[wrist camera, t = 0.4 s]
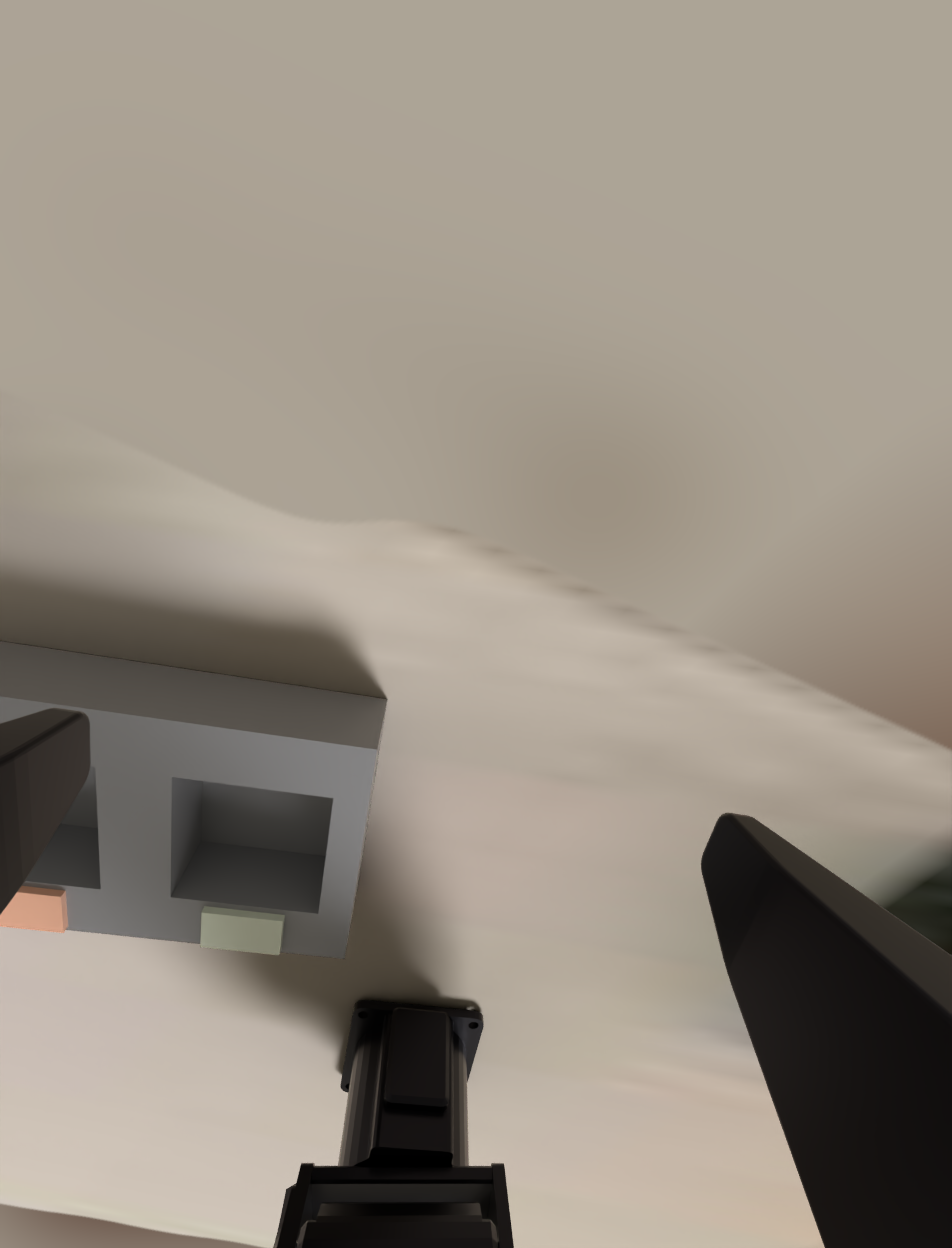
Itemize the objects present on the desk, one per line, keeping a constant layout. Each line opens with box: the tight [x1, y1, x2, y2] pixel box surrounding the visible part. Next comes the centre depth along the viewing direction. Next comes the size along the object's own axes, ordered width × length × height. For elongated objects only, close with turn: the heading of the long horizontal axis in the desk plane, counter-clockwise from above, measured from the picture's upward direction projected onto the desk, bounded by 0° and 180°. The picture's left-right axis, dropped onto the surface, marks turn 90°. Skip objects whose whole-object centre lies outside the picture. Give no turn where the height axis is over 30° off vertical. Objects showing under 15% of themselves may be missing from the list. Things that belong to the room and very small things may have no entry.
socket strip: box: [0, 641, 387, 959], centre depth 23 cm, size 10×16×4 cm, turn 79°
